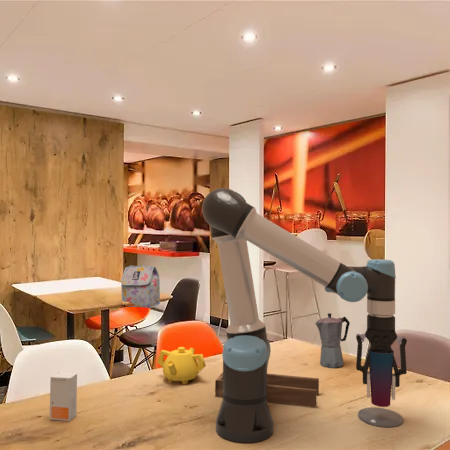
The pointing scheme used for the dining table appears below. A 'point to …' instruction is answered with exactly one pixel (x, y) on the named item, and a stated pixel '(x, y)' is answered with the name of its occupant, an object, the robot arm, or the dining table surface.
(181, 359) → the teapot
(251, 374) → the robot arm
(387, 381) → the cup
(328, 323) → the moka pot
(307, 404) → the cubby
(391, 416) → the coaster
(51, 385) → the skincare box
